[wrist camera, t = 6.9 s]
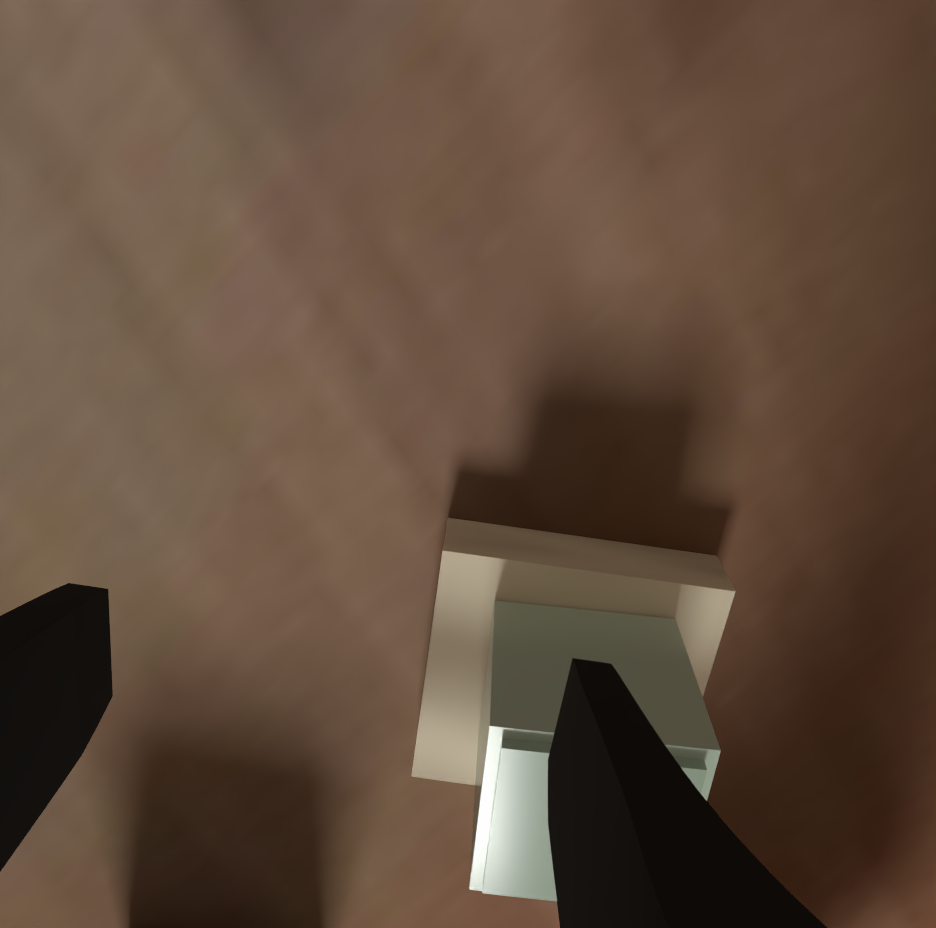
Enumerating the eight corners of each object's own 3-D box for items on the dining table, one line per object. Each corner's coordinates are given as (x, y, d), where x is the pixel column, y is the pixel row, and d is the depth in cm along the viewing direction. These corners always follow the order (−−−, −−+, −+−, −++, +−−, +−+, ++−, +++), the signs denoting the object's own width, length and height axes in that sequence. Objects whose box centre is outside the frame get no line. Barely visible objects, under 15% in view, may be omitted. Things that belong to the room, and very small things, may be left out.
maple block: (653, 753, 26) (667, 811, 24) (419, 720, 26) (411, 776, 24) (712, 547, 23) (735, 591, 21) (448, 510, 23) (442, 550, 21)
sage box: (643, 759, 23) (678, 923, 18) (477, 741, 23) (468, 900, 18) (675, 619, 21) (724, 761, 16) (494, 599, 21) (489, 735, 16)
